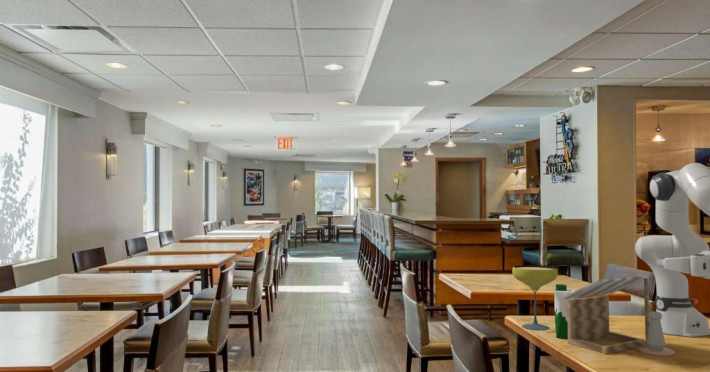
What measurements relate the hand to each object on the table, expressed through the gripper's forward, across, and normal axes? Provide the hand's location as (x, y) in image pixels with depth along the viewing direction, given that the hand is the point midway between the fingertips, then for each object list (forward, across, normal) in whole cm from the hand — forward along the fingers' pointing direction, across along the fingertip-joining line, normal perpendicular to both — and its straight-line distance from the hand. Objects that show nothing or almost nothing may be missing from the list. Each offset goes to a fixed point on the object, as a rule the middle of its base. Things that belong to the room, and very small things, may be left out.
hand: (666, 261), depth 172 cm
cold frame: (+20, +5, +32) cm, 38 cm away
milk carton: (+34, +8, +32) cm, 48 cm away
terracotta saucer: (+6, -2, +32) cm, 33 cm away
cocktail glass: (+52, +5, +32) cm, 61 cm away
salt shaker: (+6, -2, +31) cm, 32 cm away
